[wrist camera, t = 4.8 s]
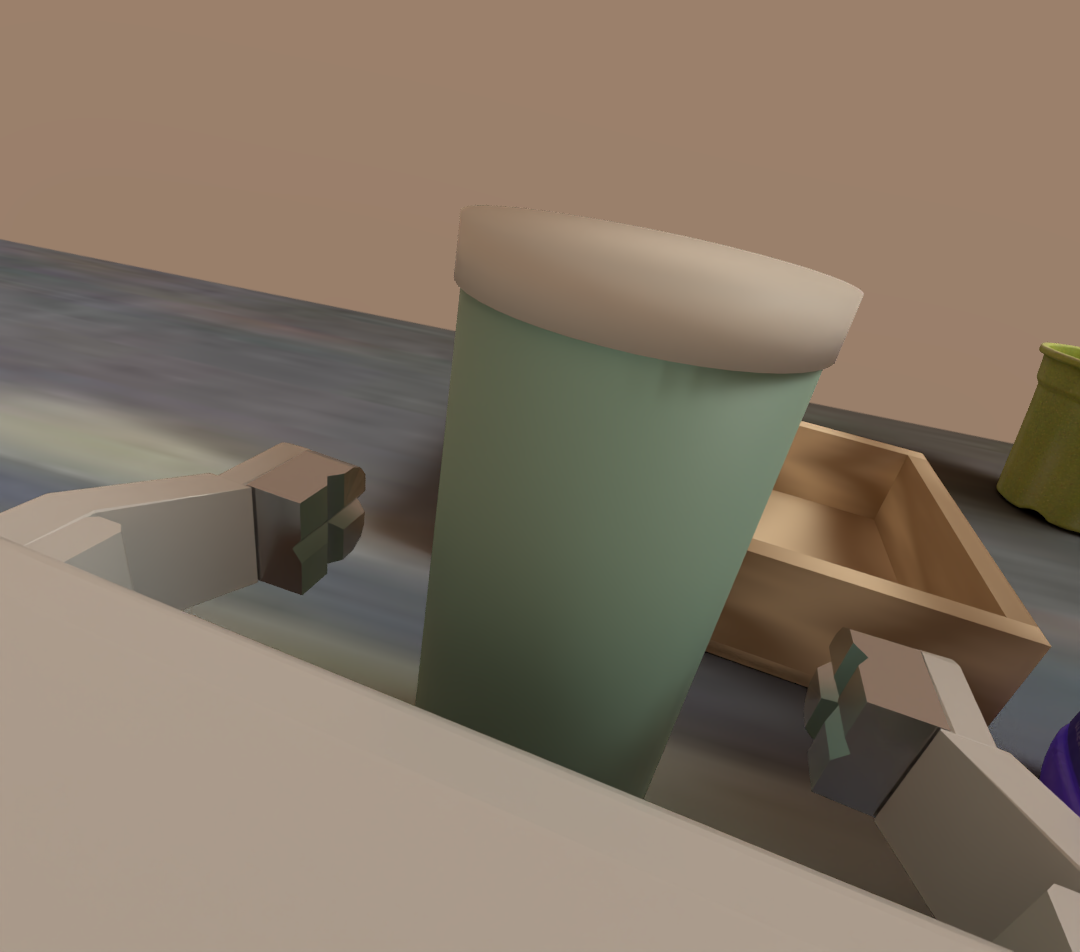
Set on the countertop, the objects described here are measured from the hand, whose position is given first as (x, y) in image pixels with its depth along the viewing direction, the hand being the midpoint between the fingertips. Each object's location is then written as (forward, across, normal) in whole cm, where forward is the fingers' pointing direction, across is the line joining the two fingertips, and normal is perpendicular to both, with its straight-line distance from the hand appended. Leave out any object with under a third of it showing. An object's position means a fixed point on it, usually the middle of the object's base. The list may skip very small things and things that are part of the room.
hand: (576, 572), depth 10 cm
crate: (+14, -3, +7) cm, 16 cm away
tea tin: (0, 0, +7) cm, 7 cm away
